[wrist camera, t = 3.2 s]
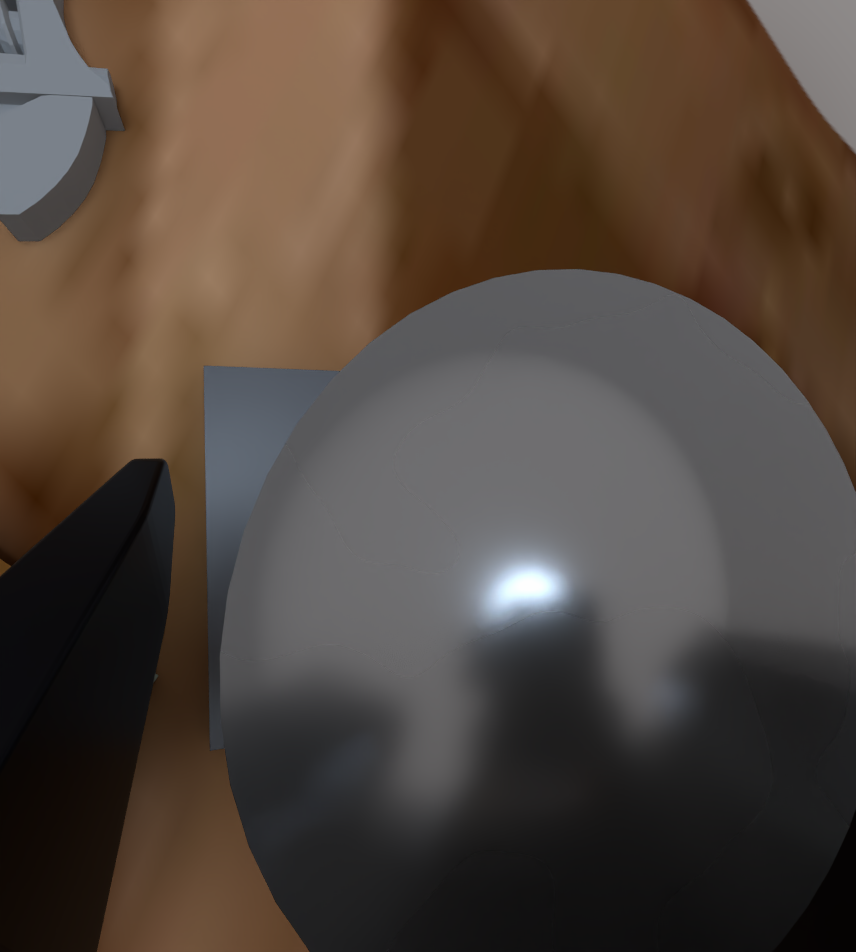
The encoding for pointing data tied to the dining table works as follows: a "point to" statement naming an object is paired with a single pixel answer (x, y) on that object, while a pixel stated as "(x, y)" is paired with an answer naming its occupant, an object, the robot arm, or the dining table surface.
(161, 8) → the dining table surface
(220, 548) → the pad
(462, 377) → the metal barrel peg
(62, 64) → the adjustable wrench
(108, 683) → the robot arm
